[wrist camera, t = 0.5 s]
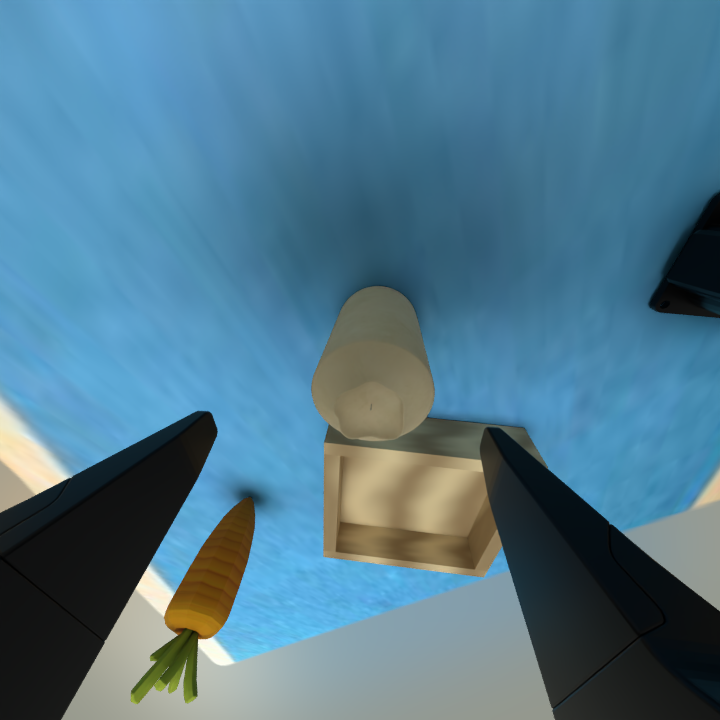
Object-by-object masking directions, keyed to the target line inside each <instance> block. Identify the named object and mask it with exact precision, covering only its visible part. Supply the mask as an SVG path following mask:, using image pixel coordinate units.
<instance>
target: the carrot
mask: <svg viewBox="0 0 720 720" xmlns="http://www.w3.org/2000/svg"><path fill="white" fill-rule="evenodd" d="M254 529H255V509H254V502H253V500H252V498H251V497H248V498H245V499H243V500H242V501H241V502H239V503H238V504H237V505H236V506H234V507H233V508H232V509H231V510H230V511H229V512H228V513H227V514H226V515H225V516H224V517H223V519H222V520H221V521H220V523H219V524H218V525H217V526H216V528H215V529H214V530H213V532H212V533H211V535H210V536H209V537H208V539H207V540H206V542H205V543H204V544H203V546H202V547H201V549H200V551H199V553H198V554H197V556H196V558H195V559H194V561H193V563H192V564H191V566H190V568H189V569H188V571H187V573H186V575H185V577H184V578H183V580H182V582H181V584H180V586H179V587H178V589H177V591H176V593H175V594H174V596H173V598H172V600H171V602H170V603H169V605H168V608H167V610H166V613H165V616H164V619H165V624H166V625H167V627H168V628H169V629H171V630H172V631H173V632H175V633H176V634H177V635H178V636H176V637H175V638H174V639H172V640H171V641H170V642H168V643H167V644H165V645H164V646H163V647H161V648H160V649H158V650H157V651H156V652H154V653H153V654H152V655H151V656H150V661H157V662H156V663H155V664H154V665H153V666H152V667H151V668H150V669H149V671H148V672H147V673H146V674H145V675H144V676H143V677H142V678H141V680H140V681H139V682H138V683H137V684H136V686H135V687H134V688H133V689H132V691H131V702H133V703H135V704H138V703H139V702H140V701H141V700H142V698H143V697H144V696H145V695H146V694H147V692H148V691H149V690H150V689H151V688H152V687H153V685H154V684H155V683H156V684H155V685H154V686H155V688H156V690H158V691H162V690H163V689H164V688H165V686H167V684H168V683H169V682H170V684H169V688H168V692H169V693H172V692H174V691H175V690H176V689H177V686H178V684H179V680H180V677H181V674H182V671H183V668H184V665H185V662H186V659H187V663H186V670H185V677H184V699H185V703H189V702H191V701H193V700H194V699H195V698H196V697H197V681H196V677H197V651H198V639H208V638H211V637H212V636H214V635H215V634H216V633H217V632H218V631H219V630H220V629H221V628H222V627H223V625H224V624H225V622H226V621H227V619H228V616H229V614H230V611H231V609H232V606H233V603H234V600H235V597H236V595H237V592H238V589H239V586H240V583H241V580H242V577H243V574H244V571H245V568H246V565H247V562H248V558H249V553H250V549H251V545H252V539H253V534H254ZM168 666H169V668H168ZM167 668H168V669H167ZM166 669H167V670H166ZM165 670H166V671H165ZM163 673H164V674H163ZM162 674H163V675H162ZM161 675H162V676H161ZM159 678H160V679H159ZM158 679H159V680H158ZM157 680H158V681H157Z"/></svg>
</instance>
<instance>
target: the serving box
mask: <svg viewBox="0 0 720 720" xmlns="http://www.w3.org/2000/svg"><path fill="white" fill-rule="evenodd" d="M486 427H499V428H501V429H502V430H503V431H504V432H506V433H507V434H508V435H509V436H510V437H511V438H513V439H514V440H515V441H516V442H517V443H518V444H520V445H521V446H522V447H523V448H524V449H525V450H526V451H528V452H529V453H530V454H531V455H532V456H533V457H535V458H536V459H537V460H538V461H539V462H540V463H542V464H543V465H544V466H545V467H546V468H548V467H547V465H546V463H545V462H544V460H543V458H542V457H541V455H540V453H539V452H538V450H537V448H536V447H535V445H534V443H533V442H532V440H531V438H530V437H529V435H528V433H527V432H526V430H525V428H519V427H510V426H500V425H491V424H481V423H472V422H463V421H453V420H444V419H435V418H425V420H424V421H423V422H422V423H421V424H420V425H419V426H417V427H416V428H415V429H413V430H412V431H410V432H408V433H406V434H404V435H402V436H400V437H398V438H397V439H394V440H385V441H365V440H359V439H348V438H346V437H345V436H344V435H343V434H342V433H341V432H339V431H338V430H336V429H335V428H333V427H332V426H331V425H330V424H329V426H328V430H327V434H326V438H325V441H324V557H329V558H337V559H344V560H352V561H360V562H368V563H376V564H384V565H391V566H399V567H407V568H415V569H423V570H430V571H438V572H446V573H454V574H462V575H470V576H477V577H484V576H485V575H486V573H487V571H488V569H489V568H490V566H491V564H492V563H493V561H494V559H495V557H496V556H497V554H498V552H499V551H500V549H501V547H502V543H501V540H500V537H499V533H498V530H497V527H496V523H495V520H494V517H493V514H492V510H491V507H490V503H489V499H488V494H487V489H486V484H485V478H484V473H483V467H482V462H481V457H480V443H481V439H482V436H483V432H484V429H485V428H486Z"/></svg>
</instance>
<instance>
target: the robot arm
mask: <svg viewBox="0 0 720 720" xmlns="http://www.w3.org/2000/svg"><path fill="white" fill-rule="evenodd" d="M662 302H664V303H663V305H661V303H662ZM660 305H661V306H660ZM650 308H651V309H652V310H655V311H657V312H660V313H672V314H683V315H694V316H705V317H716V318H720V193H719V194H717V195H716V196H715V197H714V198H713V199H712V201H711V202H710V204H709V206H708V208H707V209H706V211H705V213H704V214H703V216H702V218H701V219H700V221H699V223H698V224H697V226H696V228H695V229H694V231H693V233H692V234H691V236H690V238H689V239H688V241H687V243H686V244H685V246H684V248H683V249H682V251H681V253H680V254H679V256H678V258H677V260H676V261H675V263H674V265H673V266H672V268H671V270H670V271H669V273H668V275H667V276H666V278H665V280H664V281H663V283H662V285H661V286H660V288H659V290H658V291H657V293H656V295H655V296H654V298H653V300H652V301H651V304H650ZM217 432H218V431H217V427H216V424H215V421H214V418H213V416H212V414H211V413H210V412H209V411H196V412H194V413H192V414H191V415H189V416H187V417H185V418H183V419H181V420H179V421H177V422H175V423H173V424H171V425H170V426H168V427H166V428H164V429H162V430H160V431H158V432H156V433H154V434H152V435H150V436H149V437H147V438H145V439H143V440H141V441H139V442H137V443H135V444H133V445H131V446H129V447H128V448H126V449H124V450H122V451H120V452H118V453H116V454H114V455H112V456H110V457H108V458H107V459H105V460H103V461H101V462H99V463H97V464H95V465H93V466H91V467H89V468H87V469H86V470H84V471H82V472H80V473H78V474H76V475H74V476H73V477H72V478H68V479H66V480H64V481H63V482H61V483H59V484H57V485H55V486H53V487H51V488H49V489H47V490H45V491H43V492H41V493H39V494H37V495H35V496H34V497H32V498H30V499H28V500H26V501H24V502H21V503H19V504H17V505H15V506H13V507H11V508H9V509H7V510H5V511H3V512H1V513H0V720H61V719H62V717H63V715H64V714H65V712H66V710H67V708H68V706H69V705H70V703H71V701H72V699H73V698H74V696H75V694H76V692H77V691H78V689H79V687H80V685H81V684H82V681H83V680H84V678H85V677H86V675H87V673H88V671H89V669H90V668H91V666H92V664H93V662H94V661H95V659H96V657H97V655H98V653H99V652H100V650H101V648H102V647H103V645H104V643H105V642H104V641H105V640H106V639H107V637H108V635H109V634H110V632H111V630H112V629H113V627H114V625H115V623H116V622H117V620H118V618H119V616H120V615H121V612H122V611H123V609H124V608H125V606H126V604H127V602H128V600H129V598H130V597H131V595H132V593H133V592H134V590H135V588H136V586H137V585H138V583H139V581H140V579H141V578H142V576H143V574H144V572H145V571H146V569H147V567H148V565H149V564H150V562H151V560H152V558H153V556H154V555H155V553H156V551H157V549H158V548H159V546H160V544H161V542H162V541H163V539H164V537H165V535H166V534H167V532H168V530H169V528H170V527H171V525H172V523H173V521H174V519H175V518H176V516H177V514H178V512H179V511H180V509H181V507H182V505H183V504H184V502H185V500H186V498H187V497H188V495H189V493H190V491H191V490H192V488H193V486H194V484H195V482H196V481H197V479H198V477H199V475H200V473H201V471H202V468H203V466H204V464H205V462H206V459H207V457H208V455H209V453H210V450H211V448H212V446H213V444H214V441H215V439H216V437H217ZM480 457H481V462H482V467H483V473H484V478H485V484H486V489H487V494H488V499H489V503H490V507H491V510H492V514H493V517H494V520H495V523H496V527H497V530H498V533H499V537H500V540H501V543H502V546H503V550H504V553H505V556H506V560H507V563H508V566H509V569H510V573H511V576H512V579H513V583H514V586H515V589H516V592H517V596H518V599H519V602H520V605H521V609H522V612H523V615H524V619H525V622H526V625H527V628H528V632H529V635H530V638H531V641H532V645H533V648H534V651H535V655H536V658H537V661H538V665H539V668H540V671H541V674H542V678H543V681H544V684H545V687H546V691H547V694H548V697H549V701H550V704H551V707H552V708H553V714H554V718H555V720H720V611H719V610H717V609H716V608H715V607H714V606H712V605H711V604H710V603H708V602H707V601H706V600H704V599H703V598H702V597H701V596H699V595H698V594H697V593H695V592H694V591H693V590H692V589H690V588H689V587H688V586H686V585H685V584H684V583H683V582H681V581H680V580H679V579H677V578H676V577H675V576H674V575H672V574H671V573H670V572H669V571H667V570H666V569H665V568H664V567H662V566H661V565H660V564H658V563H657V562H656V561H655V560H653V559H652V558H651V557H650V556H649V555H647V554H646V553H645V552H644V551H643V550H641V549H640V548H639V547H638V546H637V545H636V544H634V543H633V542H632V541H631V540H630V539H628V538H627V537H626V536H625V535H624V534H623V533H621V532H620V531H619V530H618V529H617V528H616V527H615V526H613V525H612V524H610V525H609V522H608V521H607V520H606V519H605V518H604V517H603V516H602V515H601V514H599V513H598V512H597V511H596V510H595V509H594V508H592V507H591V506H590V505H589V504H588V503H587V502H585V501H584V500H583V499H582V498H581V497H580V496H579V495H577V494H576V493H575V492H574V491H573V490H572V489H570V488H569V487H568V486H567V485H566V484H565V483H563V482H562V481H561V480H560V479H559V478H558V477H557V476H555V475H554V474H553V473H552V472H551V471H550V470H548V469H547V468H546V467H545V466H544V465H543V464H542V463H540V462H539V461H538V460H537V459H536V458H535V457H533V456H532V455H531V454H530V453H529V452H528V451H526V450H525V449H524V448H523V447H522V446H521V445H520V444H518V443H517V442H516V441H515V440H514V439H513V438H511V437H510V436H509V435H508V434H507V433H506V432H504V431H503V430H502V429H501V428H499V427H486V428H485V429H484V432H483V436H482V439H481V443H480Z"/></svg>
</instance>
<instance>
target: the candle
mask: <svg viewBox="0 0 720 720" xmlns="http://www.w3.org/2000/svg"><path fill="white" fill-rule="evenodd" d="M311 390H312V397H313V401H314V404H315V406H316V408H317V410H318V412H319V413H320V415H321V416H322V417H323V419H324V420H325V421H326V422H327V423H328V424H330V425H331V426H332V427H333V428H335V429H336V430H338V431H339V432H341V433H342V434H343V435H344V436H345V437H346V438H348V439H359V440H365V441H385V440H394V439H397V438H398V437H400V436H402V435H404V434H406V433H408V432H410V431H412V430H413V429H415V428H416V427H417V426H419V425H420V424H421V423H422V422H423V421H424V420H425V418H426V417H427V415H428V414H429V412H430V410H431V408H432V405H433V402H434V395H435V389H434V383H433V378H432V374H431V370H430V366H429V362H428V358H427V354H426V351H425V347H424V343H423V339H422V335H421V331H420V327H419V323H418V319H417V316H416V313H415V310H414V308H413V306H412V304H411V303H410V301H409V300H408V299H407V298H406V297H405V296H404V295H403V294H401V293H400V292H398V291H396V290H394V289H392V288H389V287H384V286H371V287H367V288H364V289H361V290H359V291H358V292H356V293H355V294H353V295H352V296H351V297H350V298H349V299H348V300H347V301H346V302H345V304H344V305H343V307H342V309H341V311H340V313H339V316H338V318H337V320H336V323H335V325H334V328H333V330H332V332H331V335H330V337H329V339H328V342H327V344H326V347H325V349H324V351H323V354H322V356H321V359H320V361H319V363H318V366H317V368H316V371H315V373H314V376H313V380H312V388H311Z"/></svg>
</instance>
